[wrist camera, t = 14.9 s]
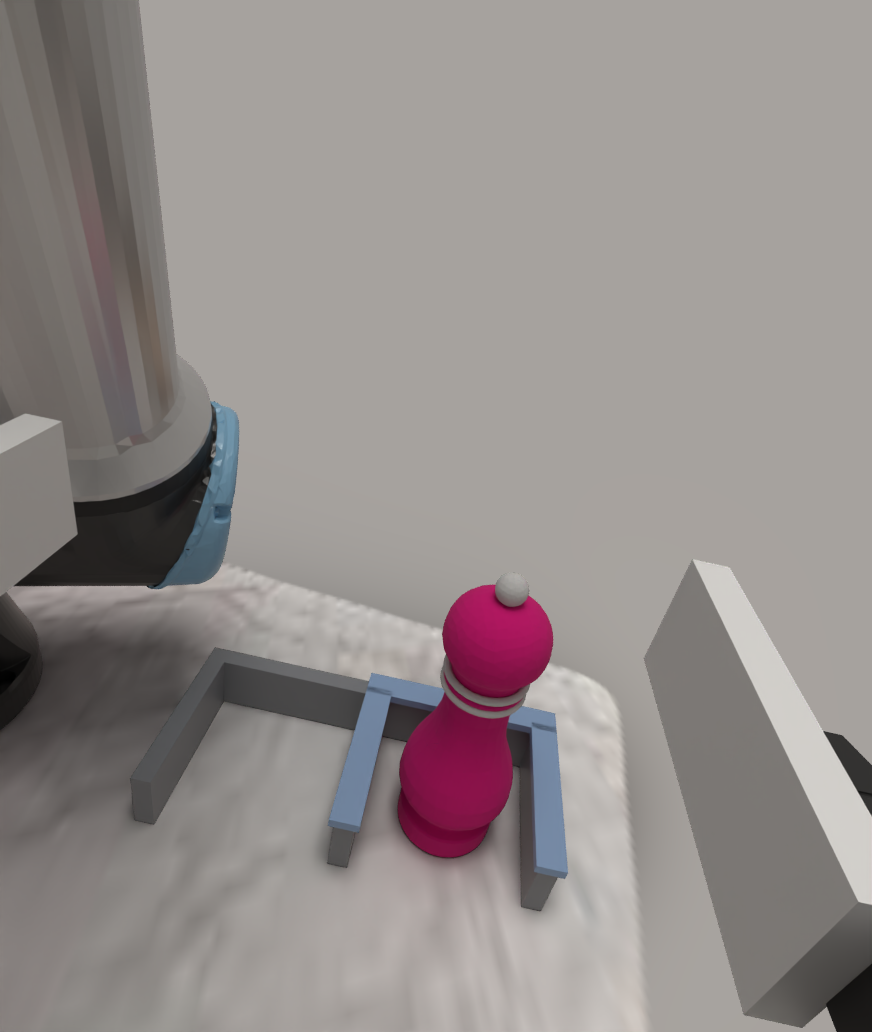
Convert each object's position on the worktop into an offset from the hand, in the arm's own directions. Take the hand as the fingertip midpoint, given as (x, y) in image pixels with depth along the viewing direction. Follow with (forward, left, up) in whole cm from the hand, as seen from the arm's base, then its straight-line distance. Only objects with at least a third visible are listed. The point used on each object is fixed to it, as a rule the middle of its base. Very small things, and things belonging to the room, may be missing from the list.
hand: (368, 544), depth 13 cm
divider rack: (-10, +11, -30) cm, 33 cm away
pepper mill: (-5, +15, -30) cm, 34 cm away
